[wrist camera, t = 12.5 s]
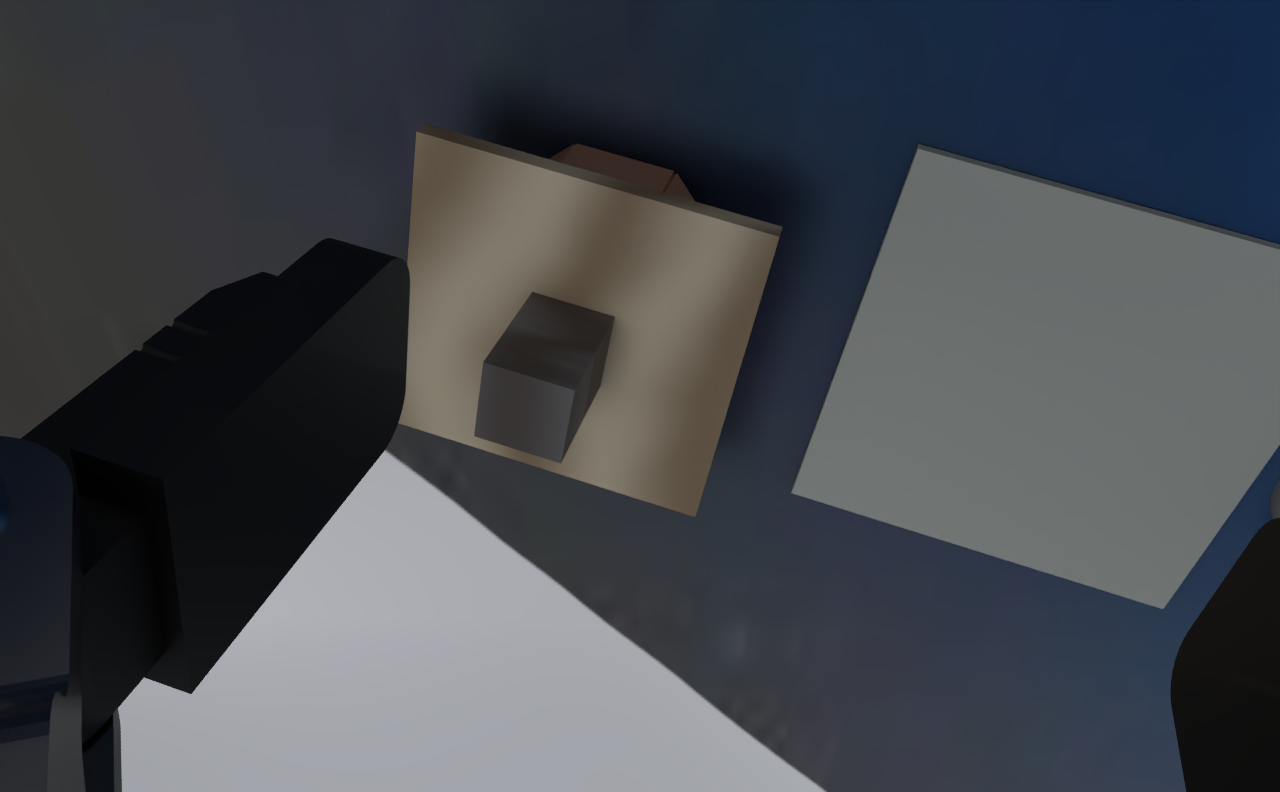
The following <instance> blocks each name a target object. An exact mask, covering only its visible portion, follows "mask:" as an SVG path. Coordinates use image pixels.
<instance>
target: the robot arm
mask: <svg viewBox="0 0 1280 792" xmlns="http://www.w3.org/2000/svg"><path fill="white" fill-rule="evenodd" d="M409 302H410V273H409V269H408V266H407V264H406V262H405V261H404V260H403V259H401V258H397V257H394V256H391V255H387V254H384V253H380V252H377V251H373V250H370V249H367V248H363V247H360V246H356V245H353V244H349V243H346V242H342V241H339V240H336V239H332V238H327V239H324V240H322V241H320V242H319V243H317V244H316V245H315V246H314V247H313V248H311V249H310V250H309V251H308V252H307V253H305V254H304V255H303V256H302V257H301V258H299V259H298V260H297V261H296V262H295V263H293V264H292V265H291V266H290V267H288V268H287V269H286V270H285V271H284V272H282V273H281V274H280V275H279V276H275V275H272V274H269V273H265V272H261V273H258V274H255V275H253V276H250V277H247V278H244V279H242V280H239V281H236V282H234V283H231V284H228V285H225V286H223V287H220V288H217V289H214V290H212V291H210V292H209V293H208V294H206V295H205V296H204V297H202V298H201V299H200V300H199V301H197V302H196V303H195V304H193V305H192V306H191V307H190V308H188V309H187V310H186V311H184V312H183V313H182V314H181V315H179V316H178V317H177V318H175V319H174V323H173V325H172V327H170V326H167V325H166V326H165V327H164V328H162V329H161V330H160V331H159V332H157V333H156V334H155V335H153V336H152V337H151V338H150V339H148V340H147V341H146V342H144V343H143V348H142V350H141V351H138V350H134V351H133V352H132V353H130V354H129V355H128V356H126V357H125V358H124V359H123V360H121V361H120V362H119V363H117V364H116V365H115V366H114V367H112V368H111V369H110V370H108V371H107V372H106V373H105V374H103V375H102V376H101V377H99V378H98V379H97V380H96V381H94V382H93V383H92V384H90V385H89V386H88V387H87V388H85V389H84V390H83V391H81V392H80V393H79V394H78V395H76V396H75V397H74V398H72V399H71V400H70V401H69V402H67V403H66V404H65V405H63V406H62V407H61V408H60V409H58V410H57V411H56V412H54V413H53V414H52V415H51V416H49V417H48V418H47V419H45V420H44V421H43V422H42V423H40V424H39V425H38V426H36V427H35V428H34V429H33V430H31V431H30V432H29V433H27V434H26V435H25V436H24V437H22V438H21V439H18V438H12V437H6V436H0V792H122V779H121V734H120V733H121V731H120V719H119V713H118V707H119V706H120V705H121V704H122V702H123V701H124V700H125V699H126V698H127V697H128V695H129V694H130V693H131V692H132V691H133V689H134V688H135V687H136V686H137V685H138V684H139V683H140V681H141V680H142V679H143V678H144V677H145V678H148V679H150V680H153V681H156V682H159V683H161V684H164V685H167V686H170V687H173V688H176V689H178V690H181V691H184V692H187V693H190V694H192V692H193V691H194V690H195V689H196V687H197V686H198V685H199V684H200V682H201V681H202V680H203V678H204V677H205V676H206V675H207V674H208V672H209V671H210V669H211V668H212V667H213V666H214V665H215V663H216V662H217V661H218V660H219V658H220V657H221V656H222V655H223V653H224V652H225V651H226V650H227V648H228V647H229V646H230V645H231V643H232V642H233V641H234V639H235V638H236V637H237V636H238V634H239V633H240V632H241V631H242V629H243V628H244V627H245V626H246V624H247V623H248V622H249V620H250V619H251V618H252V617H253V616H254V614H255V613H256V612H257V611H258V609H259V608H260V607H261V605H262V604H263V603H264V602H265V600H266V599H267V598H268V597H269V595H270V594H271V593H272V592H273V590H274V589H275V588H276V587H277V585H278V584H279V583H280V582H281V580H282V579H283V578H284V576H285V575H286V574H287V573H288V571H289V570H290V569H291V568H292V566H293V565H294V564H295V563H296V561H297V560H298V559H299V558H300V556H301V555H302V554H303V553H304V551H305V550H306V549H307V548H308V546H309V545H310V544H311V542H312V541H313V540H314V539H315V537H316V536H317V535H318V534H319V532H320V531H321V530H322V528H323V527H324V526H325V525H326V524H327V522H328V521H329V520H330V518H331V517H332V516H333V515H334V513H335V512H336V511H337V510H338V508H339V507H340V506H341V505H342V503H343V502H344V501H345V500H346V498H347V497H348V496H349V495H350V493H351V492H352V491H353V490H354V488H355V487H356V486H357V485H358V483H359V482H360V481H361V479H362V478H363V477H364V476H365V474H366V473H367V472H368V471H369V469H370V468H371V467H372V466H373V464H374V463H375V462H376V460H377V459H378V458H379V457H380V456H381V454H382V453H383V452H384V450H385V449H386V447H387V446H388V444H389V442H390V440H391V438H392V436H393V434H394V432H395V430H396V427H397V425H398V422H399V419H400V416H401V413H402V409H403V405H404V399H405V392H406V373H407V349H408V326H409ZM1171 705H1172V711H1173V717H1174V723H1175V729H1176V735H1177V740H1178V746H1179V752H1180V758H1181V763H1182V769H1183V775H1184V781H1185V787H1186V792H1280V518H1275V519H1273V520H1270V521H1269V522H1267V523H1266V524H1265V525H1263V526H1262V527H1261V528H1260V529H1259V530H1258V532H1257V533H1256V534H1255V536H1254V537H1253V538H1252V540H1251V541H1250V543H1249V544H1248V546H1247V547H1246V548H1245V550H1244V551H1243V553H1242V554H1241V556H1240V557H1239V559H1238V560H1237V561H1236V563H1235V564H1234V566H1233V567H1232V569H1231V570H1230V572H1229V573H1228V574H1227V576H1226V577H1225V579H1224V580H1223V582H1222V583H1221V585H1220V586H1219V588H1218V589H1217V590H1216V592H1215V593H1214V595H1213V596H1212V598H1211V599H1210V601H1209V602H1208V603H1207V605H1206V606H1205V608H1204V609H1203V611H1202V612H1201V614H1200V615H1199V617H1198V618H1197V619H1196V621H1195V622H1194V624H1193V625H1192V627H1191V628H1190V630H1189V631H1188V633H1187V634H1186V636H1185V638H1184V640H1183V642H1182V644H1181V646H1180V648H1179V651H1178V654H1177V657H1176V660H1175V664H1174V668H1173V673H1172V679H1171Z"/></svg>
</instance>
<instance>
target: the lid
mask: <svg viewBox="0 0 1280 792" xmlns="http://www.w3.org/2000/svg"><path fill="white" fill-rule="evenodd" d="M781 231H782V227H781V226H778V225H774V224H771V223H768V222H764V221H761V220H757V219H754V218H750V217H747V216H743V215H740V214H736V213H733V212H729V211H726V210H723V209H719V208H716V207H712V206H709V205H705V204H702V203H698V202H695V201H691V200H688V199H685V198H681V197H678V196H674V195H671V194H667V193H664V192H660V191H657V190H653V189H650V188H646V187H643V186H640V185H636V184H633V183H629V182H626V181H622V180H619V179H615V178H612V177H608V176H605V175H601V174H598V173H595V172H591V171H588V170H584V169H581V168H577V167H574V166H570V165H567V164H563V163H560V162H556V161H553V160H550V159H546V158H543V157H539V156H536V155H532V154H529V153H525V152H522V151H518V150H515V149H511V148H508V147H505V146H501V145H498V144H494V143H491V142H487V141H484V140H480V139H477V138H473V137H470V136H466V135H463V134H460V133H456V132H453V131H449V130H446V129H442V128H439V127H435V126H432V125H428V124H425V125H424V126H423V127H421V128H420V129H419V130H418V131H417V132H416V145H415V160H414V175H413V190H412V204H411V219H410V234H409V249H408V264H407V266H408V269H409V273H410V302H409V326H408V349H407V373H406V392H405V399H404V405H403V409H402V413H401V416H400V419H399V422H398V423H400V424H403V425H406V426H409V427H413V428H416V429H419V430H422V431H425V432H428V433H432V434H435V435H438V436H441V437H444V438H447V439H451V440H454V441H457V442H460V443H463V444H466V445H469V446H473V447H476V448H479V449H482V450H485V451H488V452H492V453H495V454H498V455H501V456H504V457H507V458H510V459H514V460H517V461H520V462H523V463H526V464H529V465H533V466H536V467H539V468H542V469H545V470H548V471H551V472H555V473H558V474H561V475H564V476H567V477H570V478H574V479H577V480H580V481H583V482H586V483H589V484H593V485H596V486H599V487H602V488H605V489H608V490H611V491H615V492H618V493H621V494H624V495H627V496H630V497H634V498H637V499H640V500H643V501H646V502H649V503H652V504H656V505H659V506H662V507H665V508H668V509H671V510H675V511H678V512H681V513H684V514H687V515H690V516H693V517H695V516H696V513H697V510H698V507H699V504H700V500H701V497H702V494H703V490H704V487H705V484H706V480H707V477H708V474H709V470H710V467H711V464H712V460H713V457H714V454H715V450H716V447H717V444H718V440H719V437H720V434H721V430H722V427H723V424H724V420H725V417H726V414H727V410H728V407H729V404H730V400H731V397H732V394H733V391H734V387H735V384H736V381H737V377H738V374H739V371H740V367H741V364H742V361H743V357H744V354H745V351H746V347H747V344H748V341H749V337H750V334H751V331H752V327H753V324H754V321H755V317H756V314H757V311H758V307H759V304H760V301H761V297H762V294H763V291H764V287H765V284H766V281H767V277H768V274H769V271H770V267H771V264H772V261H773V257H774V254H775V251H776V247H777V244H778V241H779V237H780V234H781Z"/></svg>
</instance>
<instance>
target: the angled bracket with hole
mask: <svg viewBox="0 0 1280 792" xmlns="http://www.w3.org/2000/svg"><path fill="white" fill-rule="evenodd" d="M1270 510H1271V515H1272V518H1273V519H1275V518H1280V479H1279V481H1278V482H1277V484H1276V486H1275V488H1274V490H1273V493H1272V496H1271V502H1270Z"/></svg>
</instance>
